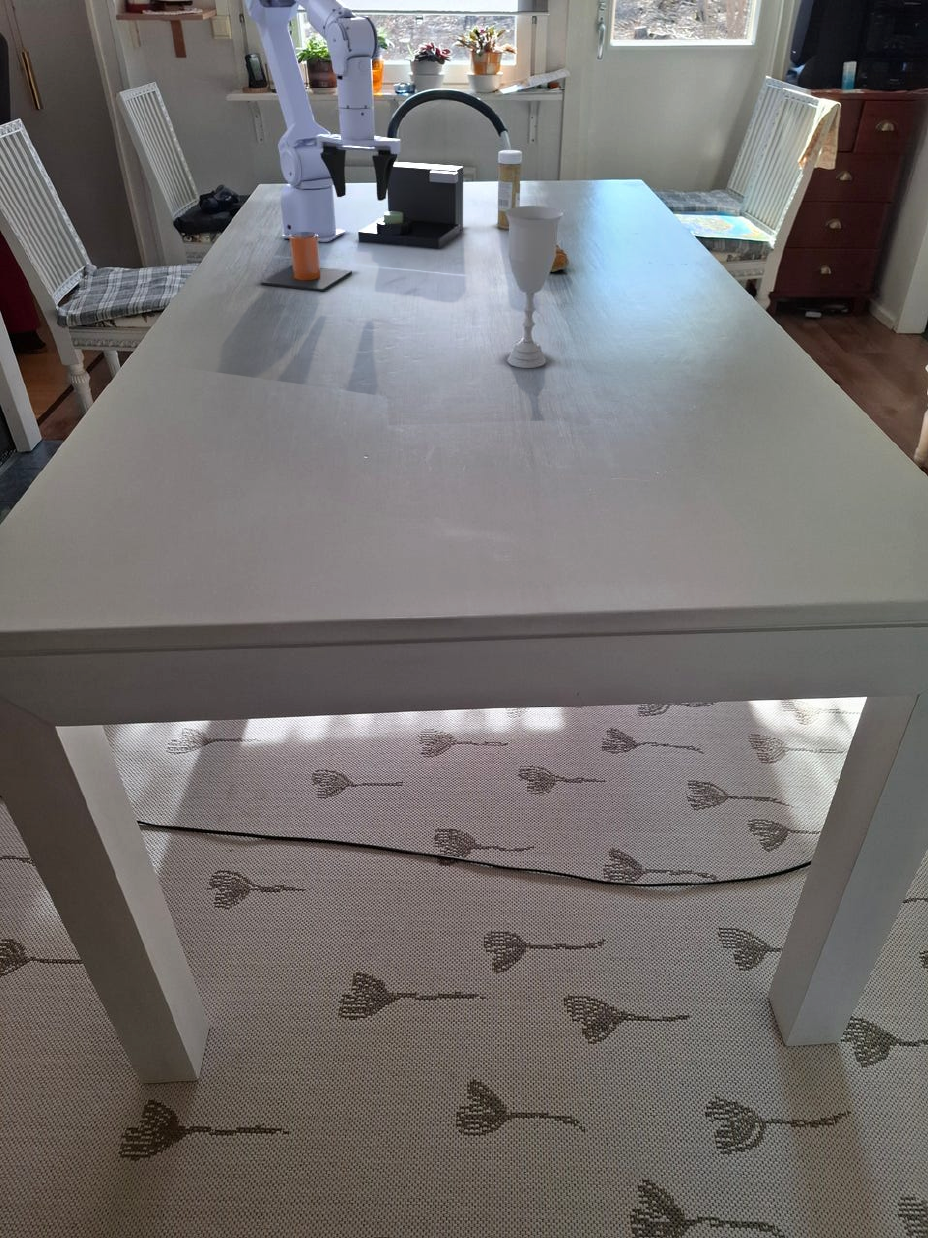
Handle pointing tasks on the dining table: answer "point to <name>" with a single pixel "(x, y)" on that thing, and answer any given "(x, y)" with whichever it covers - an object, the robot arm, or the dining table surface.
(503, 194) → the sprinkles bottle
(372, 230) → the coffee maker base
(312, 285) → the mat
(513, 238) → the chalice
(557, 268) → the pastry
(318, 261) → the espresso cup
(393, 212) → the button
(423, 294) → the dining table surface
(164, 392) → the dining table surface
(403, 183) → the coffee maker column
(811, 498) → the dining table surface
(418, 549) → the dining table surface
